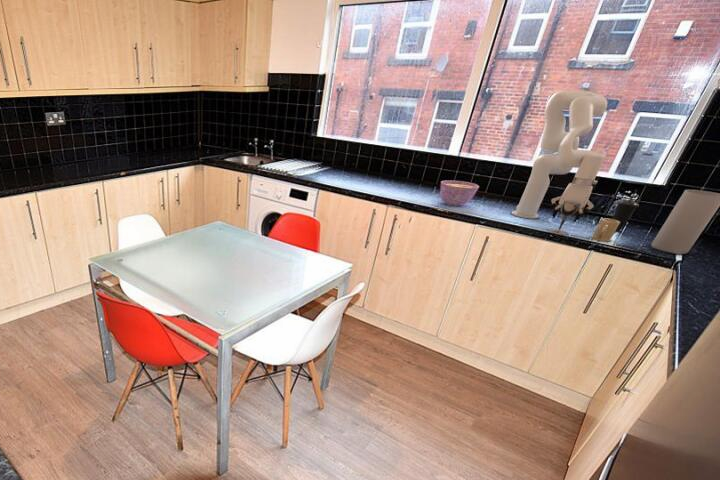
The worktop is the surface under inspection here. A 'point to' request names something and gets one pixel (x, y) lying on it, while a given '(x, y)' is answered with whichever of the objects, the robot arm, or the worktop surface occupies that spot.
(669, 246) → the taupe cylinder
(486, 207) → the worktop surface
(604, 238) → the wooden mug
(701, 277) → the worktop surface
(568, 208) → the wine glass
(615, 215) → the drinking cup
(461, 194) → the bowl of food
